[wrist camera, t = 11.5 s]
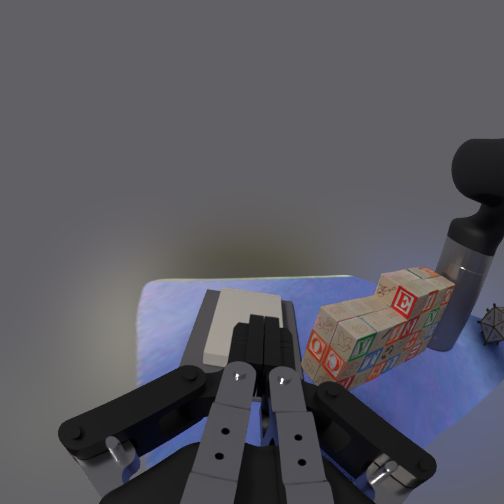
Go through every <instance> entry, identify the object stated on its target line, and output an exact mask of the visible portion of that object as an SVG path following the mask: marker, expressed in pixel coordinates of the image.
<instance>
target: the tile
mask: <svg viewBox="0 0 504 504" xmlns="http://www.w3.org/2000/svg"><path fill="white" fill-rule="evenodd" d="M250 314H255V315H262V316H264V317H265V316H270V317H278V318H279V325H280V327H281V328H283V321H282V309H281V297H280V295H273V294H266V293H259V292H252V291H245V290H238V289H232V288H225V287H222V289H221V292H220V296H219V299H218V303H217V306H216V310H215V313H214V317H213V320H212V324H211V327H210V331H209V335H208V338H207V342H206V345H205V349H204V354H203V364H208V365H214V366H220V367H225V366H226V365H227V362H228V356H229V351H230V345H231V339H232V334H233V328H234V327H235V326H236V324H237V323H238V322H242V323H249V317H250Z"/></svg>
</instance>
